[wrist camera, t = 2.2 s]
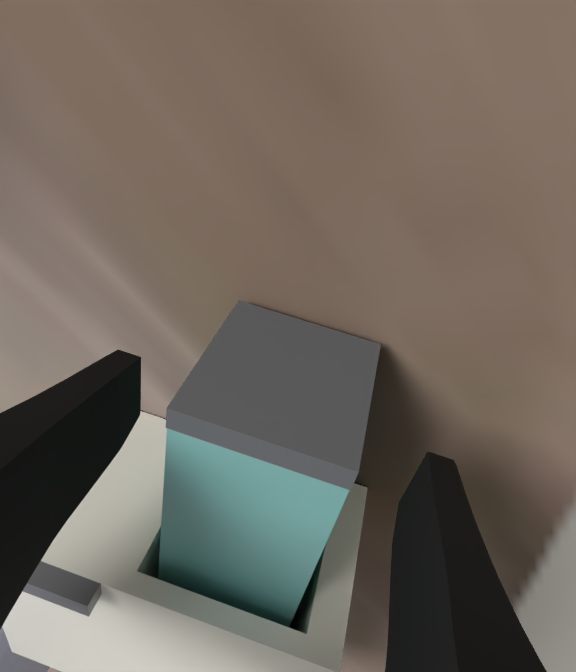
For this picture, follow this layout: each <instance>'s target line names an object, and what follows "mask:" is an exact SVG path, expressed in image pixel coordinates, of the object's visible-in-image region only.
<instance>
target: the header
mask: <svg viewBox="0 0 576 672" xmlns="http://www.w3.org/2000/svg"><path fill="white" fill-rule="evenodd" d="M166 435H167V428H166V419H163V418H160V417H157V416H154V415H151V414H148V413H145V412H142V411H140V416H139V418H138V420H137V421H136V423H135V425H134V427H133V429H132V430H131V432H130V434H129V436H128V437H127V439H126V441H125V442H124V444H123V446H122V448H121V449H120V451H119V452H118V453H117V455H116V456H115V457H114V459H113V460H112V462H111V463H110V464H109V466H108V467H107V468H106V470H105V471H104V472H103V474H102V475H101V476H100V478H99V479H98V480H97V482H96V483H95V484H94V486H93V487H92V488H91V490H90V491H89V492H88V494H87V495H86V496H85V498H84V499H83V500H82V502H81V503H80V504H79V506H78V507H77V508H76V509H75V511H74V512H73V513H72V515H71V516H70V517H69V519H68V520H67V521H66V523H65V524H64V526H63V527H62V529H61V530H60V531H59V533H58V534H57V536H56V537H55V539H54V540H53V542H52V543H51V545H50V547H49V548H48V550H47V551H46V553H45V555H44V556H43V558H42V560H41V561H40V563H39V564H38V566H37V568H36V569H35V571H34V573H33V574H32V576H31V577H30V579H29V581H28V583H27V584H26V586H25V588H24V589H23V591H22V593H21V595H20V596H19V598H18V600H17V601H16V603H15V605H14V606H13V608H12V610H11V612H10V613H9V615H8V617H7V618H6V620H5V622H4V624H3V626H2V627H3V629H4V632H5V635H6V637H7V640H8V643H9V645H10V648H11V651H12V652H14V653H16V654H19V655H21V656H24V657H26V658H29V659H31V660H34V661H36V662H39V663H41V664H44V665H46V666H49V667H51V668H54V669H57V670H59V671H62V672H340V669H341V663H342V656H343V649H344V643H345V636H346V629H347V623H348V616H349V609H350V603H351V596H352V589H353V583H354V576H355V569H356V563H357V556H358V549H359V542H360V536H361V529H362V522H363V516H364V509H365V502H366V496H367V489H368V488H367V487H364V486H361V485H358V484H355V483H354V484H353V486H352V489H351V491H350V490H349V493H348V495H347V497H346V499H345V502H344V504H343V506H342V508H341V511H340V513H339V515H338V517H337V520H336V522H335V524H334V526H333V529H332V531H331V533H330V536H329V538H328V540H327V542H326V545H325V547H324V549H323V551H322V554H321V556H320V558H319V560H318V563H317V565H316V567H315V569H314V572H313V574H312V576H311V579H310V581H309V583H308V585H307V588H306V590H305V592H304V594H303V597H302V599H301V601H300V603H299V606H298V608H297V610H296V612H295V615H294V617H293V619H292V622H291V624H290V626H289V627H286V626H283V625H281V624H278V623H275V622H273V621H270V620H267V619H265V618H262V617H259V616H256V615H254V614H251V613H248V612H246V611H243V610H240V609H238V608H235V607H232V606H229V605H227V604H224V603H221V602H219V601H216V600H213V599H210V598H208V597H205V596H202V595H200V594H197V593H194V592H192V591H189V590H186V589H183V588H181V587H178V586H175V585H173V584H170V583H167V582H165V581H162V580H159V579H158V569H159V553H160V536H161V519H162V502H163V486H164V469H165V452H166Z"/></svg>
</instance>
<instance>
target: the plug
mask: <svg viewBox="0 0 576 672" xmlns="http://www.w3.org/2000/svg"><path fill="white" fill-rule="evenodd" d="M380 347H381V344H378V343H375V342H372V341H368V340H365V339H362V338H359V337H356V336H352V335H349V334H346V333H343V332H339V331H336V330H333V329H330V328H326V327H323V326H320V325H317V324H314V323H310V322H307V321H304V320H301V319H297V318H294V317H291V316H288V315H284V314H281V313H278V312H275V311H271V310H268V309H265V308H262V307H259V306H255V305H252V304H249V303H246V302H242V301H238V302H237V304H236V305H235V307H234V308H233V310H232V311H231V313H230V314H229V316H228V317H227V319H226V320H225V322H224V323H223V325H222V326H221V328H220V329H219V331H218V332H217V334H216V335H215V337H214V338H213V340H212V341H211V343H210V344H209V346H208V347H207V349H206V350H205V352H204V353H203V355H202V356H201V358H200V359H199V361H198V362H197V364H196V365H195V367H194V368H193V370H192V371H191V373H190V374H189V376H188V377H187V379H186V380H185V382H184V383H183V385H182V386H181V388H180V389H179V391H178V392H177V394H176V395H175V397H174V398H173V400H172V401H171V403H170V404H169V406H168V407H167V413H166V428H167V435H166V452H165V469H164V486H163V502H162V519H161V536H160V553H159V569H158V579H159V580H162V581H165V582H167V583H170V584H173V585H175V586H178V587H181V588H183V589H186V590H189V591H192V592H194V593H197V594H200V595H202V596H205V597H208V598H210V599H213V600H216V601H219V602H221V603H224V604H227V605H229V606H232V607H235V608H238V609H240V610H243V611H246V612H248V613H251V614H254V615H256V616H259V617H262V618H265V619H267V620H270V621H273V622H275V623H278V624H281V625H283V626H286V627H289V626H290V624H291V622H292V619H293V617H294V615H295V612H296V610H297V608H298V606H299V603H300V601H301V599H302V597H303V594H304V592H305V590H306V588H307V585H308V583H309V581H310V579H311V576H312V574H313V572H314V569H315V567H316V565H317V563H318V560H319V558H320V556H321V554H322V551H323V549H324V547H325V545H326V542H327V540H328V538H329V536H330V533H331V531H332V529H333V526H334V524H335V522H336V520H337V517H338V515H339V513H340V511H341V508H342V506H343V504H344V502H345V499H346V497H347V495H348V493H349V490H350V491H351V489H352V486H353V484H354V482H355V480H356V477H357V475H358V473H359V468H360V462H361V456H362V451H363V445H364V439H365V433H366V428H367V422H368V416H369V410H370V405H371V399H372V393H373V387H374V381H375V376H376V370H377V364H378V358H379V353H380Z"/></svg>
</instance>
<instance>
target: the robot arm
mask: <svg viewBox="0 0 576 672" xmlns="http://www.w3.org/2000/svg"><path fill="white" fill-rule="evenodd" d="M140 400H141V357H139V356H136V355H133V354H130V353H127V352H124V351H121V350H117V351H115V352H113V353H111V354H109V355H107V356H106V357H104V358H102V359H100V360H99V361H97V362H95V363H93V364H92V365H90V366H88V367H86V368H85V369H83V370H81V371H79V372H78V373H76V374H74V375H72V376H71V377H69V378H67V379H65V380H63V381H62V382H60V383H58V384H56V385H54V386H52V387H51V388H49V389H47V390H45V391H43V392H41V393H40V394H38V395H36V396H34V397H32V398H30V399H28V400H26V401H24V402H22V403H20V404H18V405H16V406H14V407H12V408H10V409H8V410H6V411H4V412H2V413H0V672H47V671H48V669H49V666H46V665H44V664H41V663H39V662H36V661H34V660H31V659H29V658H26V657H24V656H21V655H19V654H16V653H14V652H12V651H11V648H10V645H9V643H8V640H7V637H6V635H5V632H4V629H3V627H2V626H3V624H4V622H5V620H6V618H7V617H8V615H9V613H10V612H11V610H12V608H13V606H14V605H15V603H16V601H17V600H18V598H19V596H20V595H21V593H22V591H23V589H24V588H25V586H26V584H27V583H28V581H29V579H30V577H31V576H32V574H33V573H34V571H35V569H36V568H37V566H38V564H39V563H40V561H41V560H42V558H43V556H44V555H45V553H46V551H47V550H48V548H49V547H50V545H51V543H52V542H53V540H54V539H55V537H56V536H57V534H58V533H59V531H60V530H61V529H62V527H63V526H64V524H65V523H66V521H67V520H68V519H69V517H70V516H71V515H72V513H73V512H74V511H75V509H76V508H77V507H78V506H79V504H80V503H81V502H82V500H83V499H84V498H85V496H86V495H87V494H88V492H89V491H90V490H91V488H92V487H93V486H94V484H95V483H96V482H97V480H98V479H99V478H100V476H101V475H102V474H103V472H104V471H105V470H106V468H107V467H108V466H109V464H110V463H111V462H112V460H113V459H114V457H115V456H116V455H117V453H118V452H119V451H120V449H121V448H122V446H123V444H124V442H125V441H126V439H127V437H128V436H129V434H130V432H131V430H132V429H133V427H134V425H135V423H136V421H137V420H138V418H139V416H140ZM385 672H546V670H545V668H544V666H543V665H542V663H541V661H540V659H539V658H538V656H537V654H536V652H535V650H534V648H533V646H532V645H531V643H530V641H529V639H528V637H527V635H526V633H525V631H524V630H523V628H522V626H521V624H520V622H519V620H518V618H517V616H516V614H515V612H514V610H513V608H512V605H511V603H510V601H509V599H508V597H507V595H506V593H505V590H504V588H503V586H502V584H501V582H500V580H499V577H498V575H497V573H496V571H495V568H494V566H493V564H492V561H491V559H490V556H489V554H488V551H487V549H486V546H485V544H484V542H483V539H482V537H481V534H480V532H479V529H478V526H477V524H476V521H475V518H474V516H473V513H472V510H471V507H470V505H469V502H468V499H467V496H466V493H465V490H464V487H463V484H462V481H461V478H460V475H459V472H458V469H457V466H456V464H455V462H454V460H452V459H449V458H446V457H443V456H440V455H437V454H434V453H431V452H427V454H426V455H425V457H424V459H423V461H422V463H421V464H420V466H419V468H418V470H417V471H416V473H415V475H414V477H413V479H412V480H411V482H410V484H409V486H408V488H407V489H406V491H405V493H404V495H403V496H402V498H401V500H400V502H399V506H398V512H397V518H396V523H395V530H394V536H393V543H392V559H391V581H390V604H389V628H388V647H387V659H386V669H385Z"/></svg>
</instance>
